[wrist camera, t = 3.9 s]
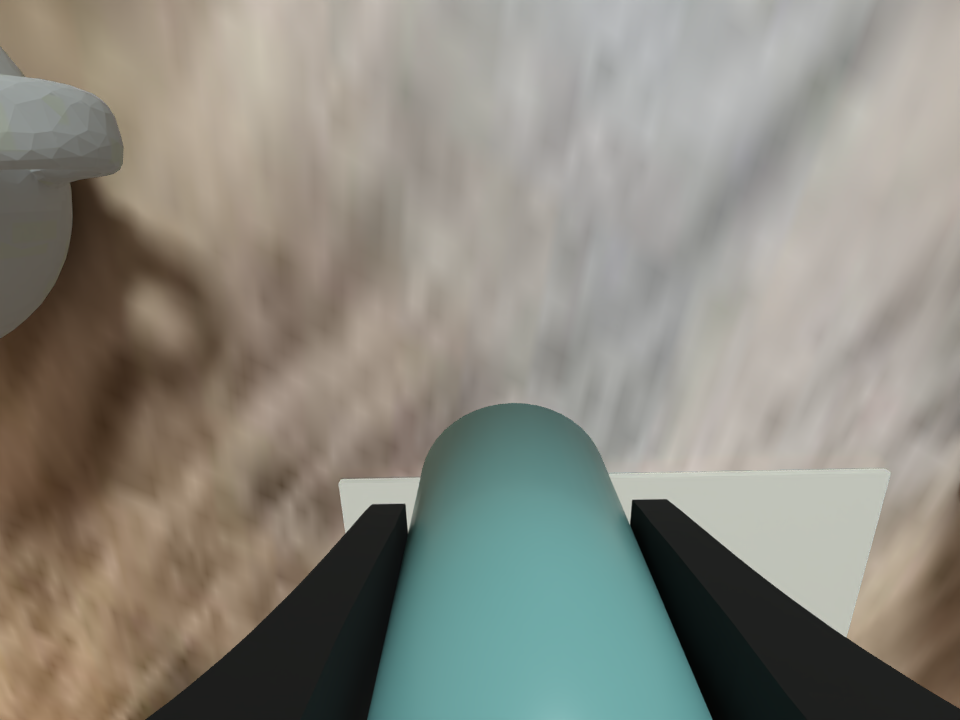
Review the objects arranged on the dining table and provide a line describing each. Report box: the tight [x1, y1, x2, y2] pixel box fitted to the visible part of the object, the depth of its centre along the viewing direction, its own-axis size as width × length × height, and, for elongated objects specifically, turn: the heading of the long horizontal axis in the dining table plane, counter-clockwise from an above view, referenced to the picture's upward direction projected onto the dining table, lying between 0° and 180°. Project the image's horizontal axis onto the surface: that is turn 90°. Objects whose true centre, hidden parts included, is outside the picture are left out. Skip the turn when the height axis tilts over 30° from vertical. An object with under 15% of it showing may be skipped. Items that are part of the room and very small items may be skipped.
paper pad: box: [339, 468, 891, 638], centre depth 21 cm, size 20×14×1 cm
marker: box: [367, 403, 712, 720], centre depth 8 cm, size 4×4×9 cm
